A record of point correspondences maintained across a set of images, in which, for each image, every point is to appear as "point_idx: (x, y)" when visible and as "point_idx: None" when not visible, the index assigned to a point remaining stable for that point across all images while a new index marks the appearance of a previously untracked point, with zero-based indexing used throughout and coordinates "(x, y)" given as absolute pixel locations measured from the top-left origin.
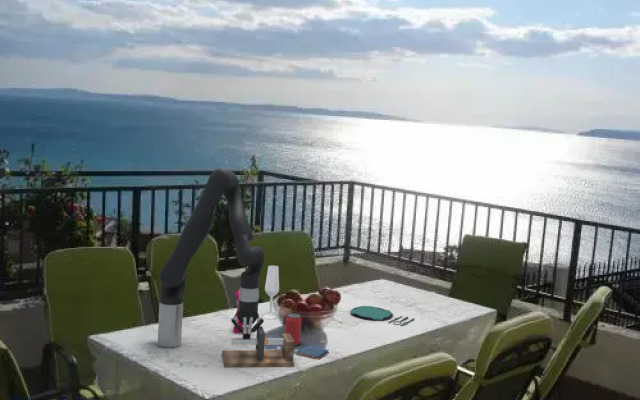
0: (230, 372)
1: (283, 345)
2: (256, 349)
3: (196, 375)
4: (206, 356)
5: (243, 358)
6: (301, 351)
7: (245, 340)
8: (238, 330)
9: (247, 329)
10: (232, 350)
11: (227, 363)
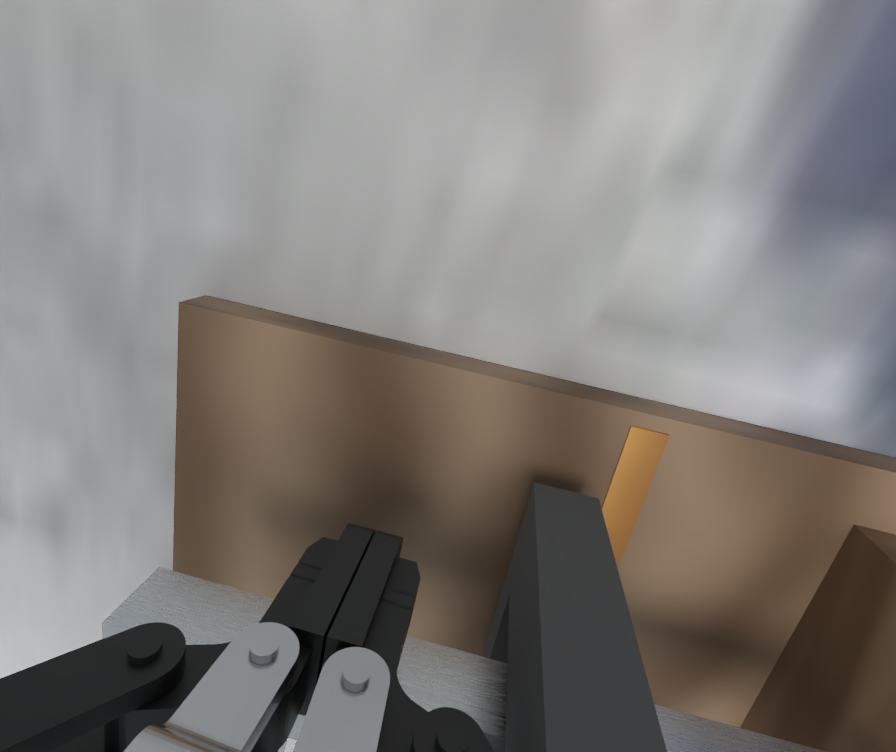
0: None
1: (879, 730)
2: (514, 556)
3: (2, 658)
4: (58, 319)
5: None
6: None
7: (294, 726)
8: (101, 746)
9: (310, 715)
10: (293, 329)
11: None
